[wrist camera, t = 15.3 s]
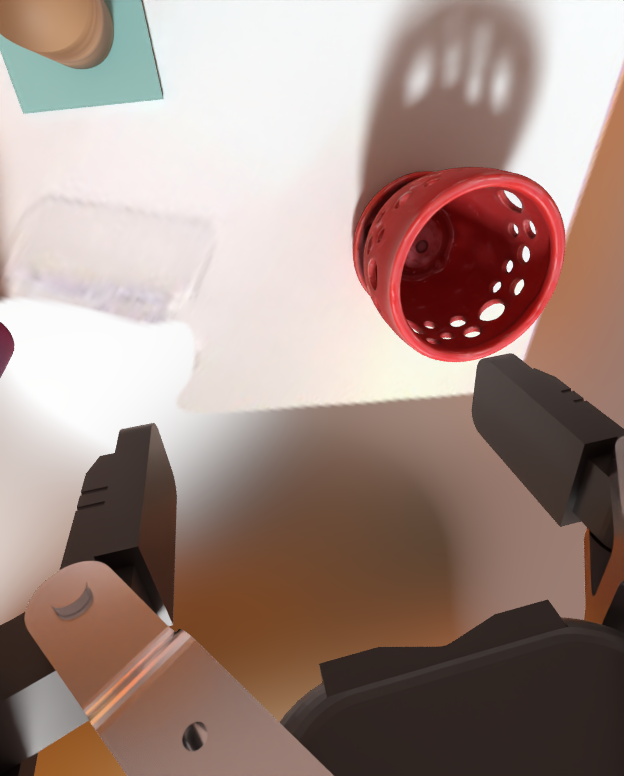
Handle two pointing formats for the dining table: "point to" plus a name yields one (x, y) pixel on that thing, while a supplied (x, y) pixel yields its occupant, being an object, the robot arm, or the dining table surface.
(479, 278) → the plant pot
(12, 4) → the roller
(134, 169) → the dining table surface
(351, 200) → the dining table surface
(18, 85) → the teal pad
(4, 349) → the cup
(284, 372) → the dining table surface
